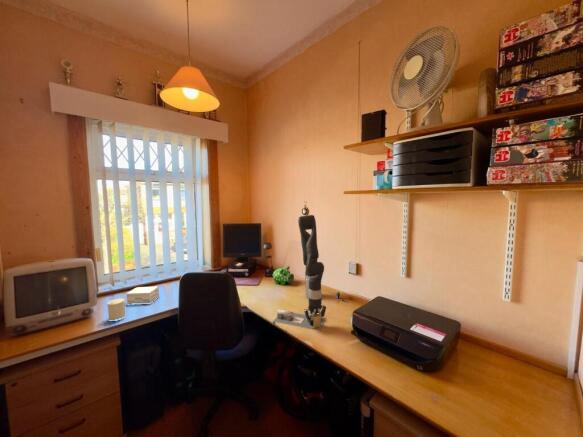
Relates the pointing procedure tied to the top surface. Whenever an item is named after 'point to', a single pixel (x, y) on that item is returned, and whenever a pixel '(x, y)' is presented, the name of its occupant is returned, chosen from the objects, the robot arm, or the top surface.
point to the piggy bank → (283, 276)
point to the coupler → (316, 321)
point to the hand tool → (353, 332)
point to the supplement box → (142, 295)
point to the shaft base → (295, 319)
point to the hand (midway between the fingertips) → (315, 324)
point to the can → (116, 309)
